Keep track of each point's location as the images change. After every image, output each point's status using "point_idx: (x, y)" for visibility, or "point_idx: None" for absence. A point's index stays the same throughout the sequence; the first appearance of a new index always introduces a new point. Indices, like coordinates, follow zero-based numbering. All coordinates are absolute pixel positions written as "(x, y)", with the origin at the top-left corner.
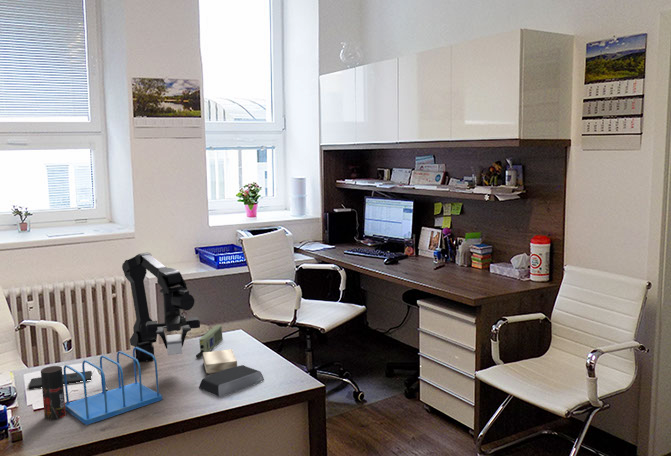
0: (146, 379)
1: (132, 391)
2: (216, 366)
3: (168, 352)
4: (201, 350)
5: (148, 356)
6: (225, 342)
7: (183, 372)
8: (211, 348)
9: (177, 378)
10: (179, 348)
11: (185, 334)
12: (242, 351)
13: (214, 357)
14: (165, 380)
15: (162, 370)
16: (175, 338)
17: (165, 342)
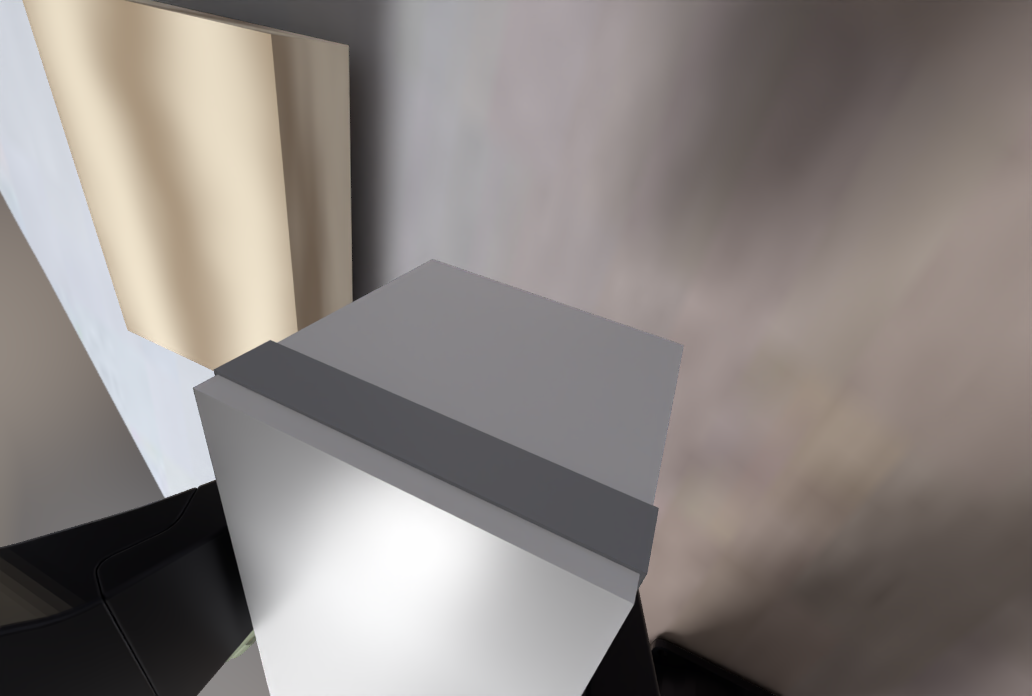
0: (974, 328)
1: None
2: (210, 17)
3: (660, 365)
4: None
5: (680, 690)
6: None
7: (535, 272)
8: None
9: (641, 134)
10: (411, 311)
11: (53, 547)
12: (169, 379)
13: (214, 231)
14: (792, 149)
15: (680, 439)
16: (344, 607)
17: (615, 664)
